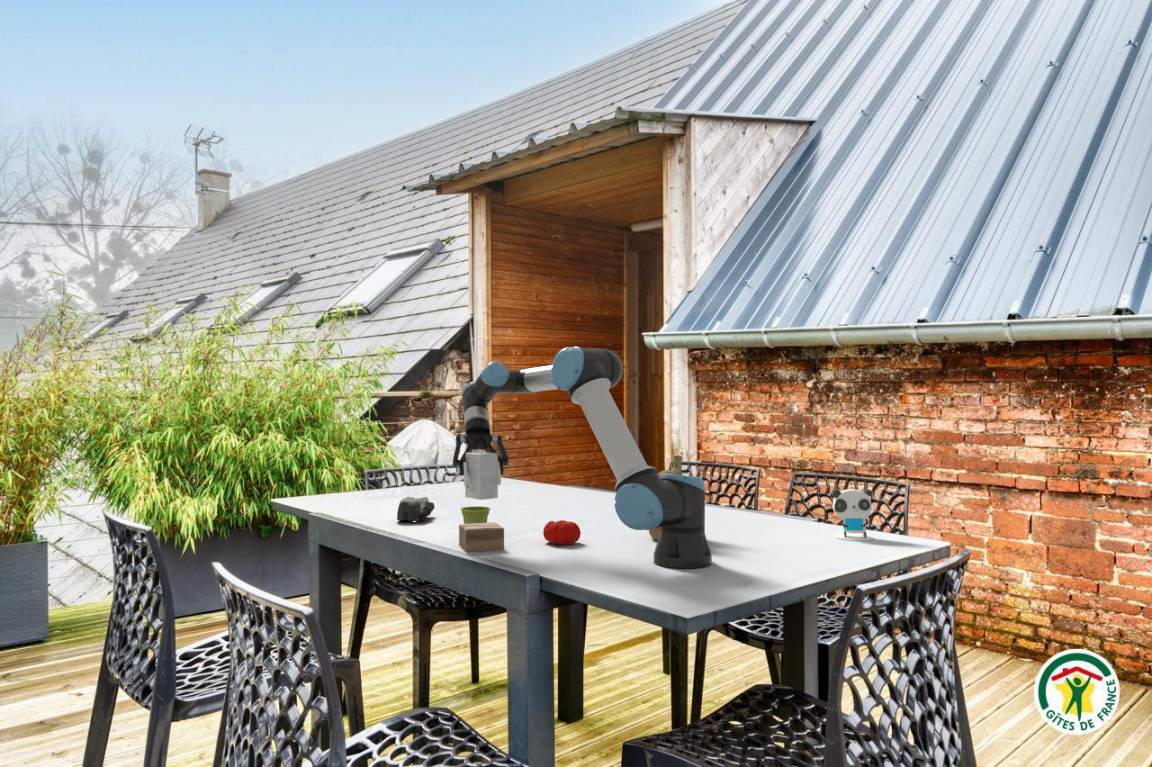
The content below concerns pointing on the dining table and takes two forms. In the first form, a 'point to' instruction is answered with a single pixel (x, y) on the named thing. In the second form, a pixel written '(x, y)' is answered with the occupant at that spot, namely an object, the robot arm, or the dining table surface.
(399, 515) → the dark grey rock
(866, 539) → the panda figurine
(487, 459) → the small box
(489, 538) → the walnut block
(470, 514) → the plant pot
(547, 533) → the tomato
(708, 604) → the dining table surface
